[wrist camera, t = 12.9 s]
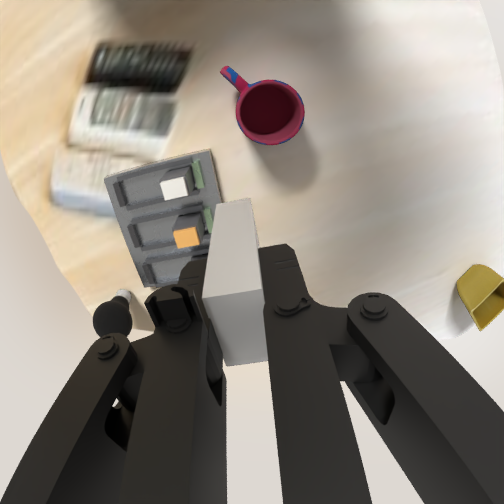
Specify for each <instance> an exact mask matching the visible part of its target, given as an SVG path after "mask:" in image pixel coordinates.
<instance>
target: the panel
mask: <svg viewBox="0 0 504 504" xmlns="http://www.w3.org/2000/svg"><path fill="white" fill-rule="evenodd" d="M189 166H191V170H192V174H193V178H194V182H195V186H194V189H193V191H192V193H191V195H188V196H184V197H179V198H175V199H170V200H166V201H165V199H164V196H163V192H162V189H161V185H160V182H159V180H160V179H161V178H162V177H163V175H164V174H165V173H166V172H168V171H172V170H176V169H180V168H184V167H189ZM104 181H105V184H106V188H107V191H108V194H109V197H110V200H111V203H112V206H113V208H114V211H115V214H116V217H117V220H118V222H119V225H120V228H121V231H122V233H123V236H124V239H125V241H126V244H127V246H128V249H129V252H130V254H131V257H132V259H133V262H134V264H135V266H136V269H137V271H138V274H139V276H140V278H141V281H142V283H143V285H144V288H145V287H151V286H156V288H157V287H163V286H167V285H171V284H177V283H178V281H179V276H180V272H181V270H182V269H183V267H184V266H185V265H186V264H187V263H188V262H189V261H191V257H195V256H201V255H206V254H208V253H209V247H210V240H211V234H212V228H213V222H214V216H215V210H216V204H220V203H222V200H221V195H220V191H219V187H218V182H217V178H216V173H215V169H214V164H213V160H212V155H211V151H210V149H206V150H201V151H197V152H192V153H188V154H184V155H180V156H175V157H171V158H167V159H163V160H160V161H156V162H152V163H148V164H145V165H141V166H138V167H134V168H131V169H127V170H124V171H120V172H117V173H114V174H111V175H108V176H106V177H105V178H104ZM199 212H200V213H201V216H202V220H203V224H204V228H205V232H204V236H203V241H202V243H201V244H199V245H195V246H189V247H184V248H179V249H178V247H177V244H176V241H175V238H174V235H173V232H172V229H173V226H174V224H175V222H176V220H177V217H180V216H185V215H190V214H194V213H199Z"/></svg>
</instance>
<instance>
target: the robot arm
mask: <svg viewBox="0 0 504 504" xmlns="http://www.w3.org/2000/svg"><path fill="white" fill-rule="evenodd" d="M144 304H145V306H146V308H147V310H148V312H149V314H150V316H151V319H152V321H153V323H154V325H155V331H154V334H152V335H150V336H147V337H145V338H142V339H139V340H136V341H133V342H131V343H130V341H129V340H128V338H127V337H126V336H125V335H123V334H121V333H110V334H107V335H104V336H102V337H101V338H99V339H98V340H96V341H95V342H94V343H93V345H92V346H91V347H90V348H89V350H88V351H87V353H86V354H85V356H84V357H83V359H82V360H81V362H80V363H79V365H78V366H77V368H76V369H75V371H74V372H73V374H72V375H71V377H70V378H69V380H68V381H67V383H66V385H65V386H64V388H63V389H62V391H61V392H60V394H59V396H58V397H57V399H56V400H55V402H54V404H53V405H52V407H51V409H50V410H49V412H48V414H47V415H46V417H45V419H44V420H43V422H42V424H41V425H40V427H39V429H38V431H37V432H36V434H35V436H34V437H33V439H32V441H31V443H30V445H29V446H28V448H27V450H26V452H25V454H24V456H23V457H22V459H21V461H20V463H19V465H18V467H17V469H16V471H15V473H14V475H13V477H12V479H11V481H10V483H9V485H8V487H7V489H6V491H5V493H4V495H3V497H2V499H1V502H0V504H227V460H226V377H225V374H224V372H223V369H222V367H223V359H224V361H225V364H226V366H234V365H242V364H250V363H256V362H263V361H268V363H269V373H270V382H271V391H272V400H273V410H274V419H275V428H276V438H277V448H278V457H279V466H280V476H281V486H282V496H283V504H372V501H371V497H370V492H369V489H368V484H367V480H366V475H365V472H364V467H363V463H362V460H361V456H360V452H359V448H358V444H357V441H356V437H355V433H354V430H353V426H352V422H351V418H350V415H349V411H348V408H347V404H346V401H345V397H344V394H343V390H342V387H341V384H340V381H345V383H346V384H347V386H348V388H349V389H350V391H351V392H352V394H353V395H354V397H355V398H356V400H357V401H358V403H359V404H360V406H361V407H362V409H363V410H364V412H365V413H366V415H367V416H368V418H369V420H370V421H371V423H372V424H373V425H374V427H375V429H376V430H377V432H378V433H379V435H380V436H381V438H382V439H383V441H384V442H385V444H386V445H387V447H388V449H389V450H390V452H391V453H392V455H393V456H394V458H395V459H396V461H397V462H398V464H399V465H400V467H401V468H402V470H403V471H404V473H405V474H406V476H407V478H408V479H409V481H410V482H411V483H412V485H413V487H414V488H415V490H416V491H417V493H418V494H419V496H420V498H421V499H422V501H423V502H424V504H504V412H503V411H502V409H501V408H500V407H499V406H498V405H497V404H496V402H494V400H493V399H492V398H491V397H490V396H489V395H488V394H487V392H486V391H485V390H484V389H483V388H482V387H481V386H480V385H479V384H478V383H477V382H476V380H475V379H474V378H473V377H471V375H470V374H469V373H468V372H467V371H466V370H465V369H464V368H463V367H462V366H461V365H460V364H459V362H458V361H457V360H456V359H455V358H454V357H453V356H452V355H451V354H450V353H449V352H448V351H447V350H446V349H445V348H444V347H443V346H442V345H441V344H440V343H439V342H438V341H437V340H436V339H435V338H434V337H433V336H432V335H431V334H430V333H429V332H428V331H427V330H426V329H425V328H424V327H423V326H422V325H421V324H420V323H419V322H418V321H417V320H416V319H415V318H414V317H413V316H411V315H410V314H409V313H408V312H407V311H406V310H405V309H404V308H403V307H402V306H401V305H400V304H399V303H398V302H397V301H396V300H394V299H393V298H391V297H390V296H388V295H385V294H381V293H365V294H361V295H359V296H357V297H355V298H354V299H352V301H351V302H350V303H349V305H348V308H335V307H327V306H324V305H320V304H319V303H317V302H315V301H314V300H313V298H312V297H311V296H310V295H309V294H308V291H307V288H306V285H305V281H304V278H303V275H302V272H301V269H300V267H299V263H298V260H297V257H296V254H295V251H294V249H292V248H291V247H290V246H288V245H287V244H280V245H274V246H269V247H263V248H260V247H259V241H258V236H257V230H256V225H255V220H254V214H253V209H252V204H251V198H246V199H241V200H235V201H230V202H225V203H220V204H216V210H215V216H214V222H213V228H212V234H211V240H210V247H209V253H208V258H206V259H200V260H194V261H189V262H188V263H187V264H186V265H185V266H184V267H183V269H182V270H181V272H180V276H179V281H178V283H177V284H171V285H167V286H163V287H161V288H160V289H158V290H156V291H154V292H153V293H152V294H151V295H149V296H148V298H147V299H146V301H145V303H144ZM116 398H117V399H118V401H119V402H118V403H117V405H116V406H115V407H112V405H113V404H114V402H115V400H116Z"/></svg>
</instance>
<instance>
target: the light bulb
mask: <svg viewBox="0 0 504 504" xmlns="http://www.w3.org/2000/svg"><path fill="white" fill-rule="evenodd" d="M130 300H131V294H130V292H129V291H127V290H125V289H120V290H118V292H117V294H116V296H115V297H114V298H112V300H111V301H108V302H104V303H102V304H101V305H100V306H99V307H98V308H97V309H96V310H95V312H94V315H93V326H94V329H95V331H96V333H97V334H98V335H99V336H100V337H102V336H104V335H107V334H110V333H121V334H123V335H125V336H126V337H127V336H128V335H129V333H130V331H131V329H132V317H131V314H130V312H129V303H130Z"/></svg>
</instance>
